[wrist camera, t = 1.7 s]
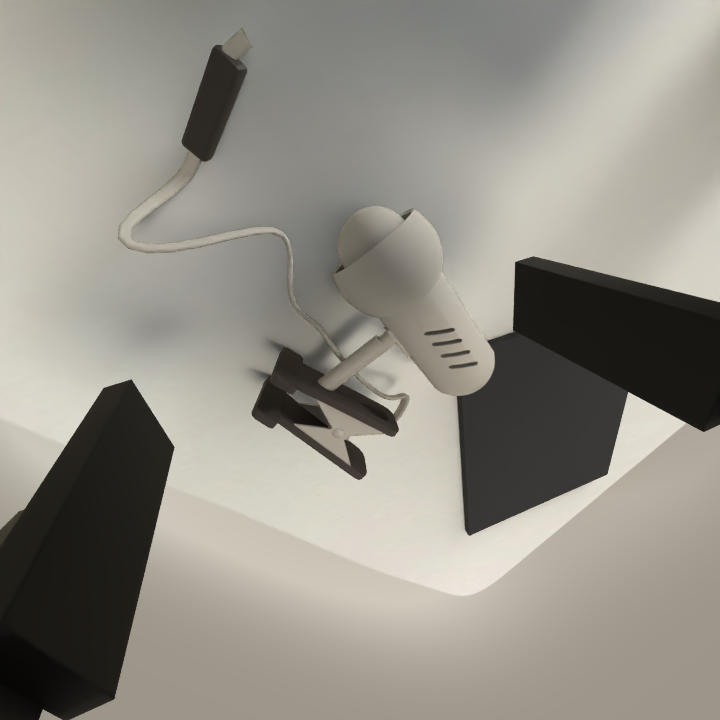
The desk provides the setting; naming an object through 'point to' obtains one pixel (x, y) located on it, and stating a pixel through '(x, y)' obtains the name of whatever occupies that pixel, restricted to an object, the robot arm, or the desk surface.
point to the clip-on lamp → (356, 284)
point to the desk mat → (533, 431)
